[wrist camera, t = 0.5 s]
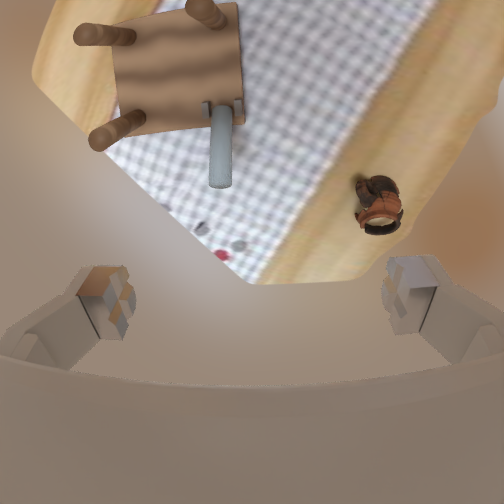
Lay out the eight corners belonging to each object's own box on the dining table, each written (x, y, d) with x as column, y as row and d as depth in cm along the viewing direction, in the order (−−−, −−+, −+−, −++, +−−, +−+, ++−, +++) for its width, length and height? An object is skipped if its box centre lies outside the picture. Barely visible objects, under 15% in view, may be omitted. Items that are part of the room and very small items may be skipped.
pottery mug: (407, 189, 54) (414, 227, 50) (368, 207, 61) (372, 243, 57) (372, 156, 48) (379, 196, 44) (331, 179, 55) (332, 218, 51)
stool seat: (116, 26, 38) (62, 21, 24) (237, 4, 37) (225, -21, 23) (129, 134, 49) (84, 165, 35) (245, 121, 48) (237, 147, 34)
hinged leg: (210, 106, 42) (206, 180, 39) (231, 104, 41) (230, 179, 39) (213, 117, 45) (211, 189, 42) (233, 116, 44) (233, 188, 42)
